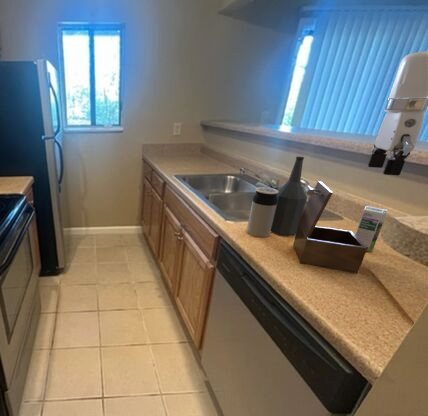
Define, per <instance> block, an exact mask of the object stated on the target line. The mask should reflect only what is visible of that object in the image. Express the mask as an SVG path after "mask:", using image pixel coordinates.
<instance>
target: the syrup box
mask: <svg viewBox="0 0 428 416" xmlns="http://www.w3.org/2000/svg"><path fill="white" fill-rule="evenodd" d="M388 211H389V209H386V208H385V209H384V208H379V207H373V206H370V205H369V206H368V205H365V207H364V209H363V210H362V213H361V216H360V219H359V222H358V225H357V228H356V230H355V233H354V234H355V235H356V237H357V238H358V239H359V240H360V241H361V242H362V243H363V244H364V245H365V246H366V248H367V250H366V252H369V253H373V251H374V248H375V245H376V242H377V241H378V238H379V235H380V232H381V230H382V227H383V225H384V223H385V220H386V217H387V214H388Z"/></svg>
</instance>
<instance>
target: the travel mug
mask: <svg viewBox="0 0 428 416" xmlns="http://www.w3.org/2000/svg"><path fill="white" fill-rule="evenodd" d="M278 190H279V189H275V188H273V187H272V188H271V187H266V186H265V187H264V186H261V187H260V186H259V187H256V188H255V194H254V195H253V197H252V201H251V207H250V212H249V217H248V221H247V227H246V233H248V234H249V235H250V236H253V237H257V238H267V237H269V236H270V234H271V231H270V230H271V226H272V222H273V217H274V213H275V209H276V205H277V197H276V196H277V193H278Z"/></svg>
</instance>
